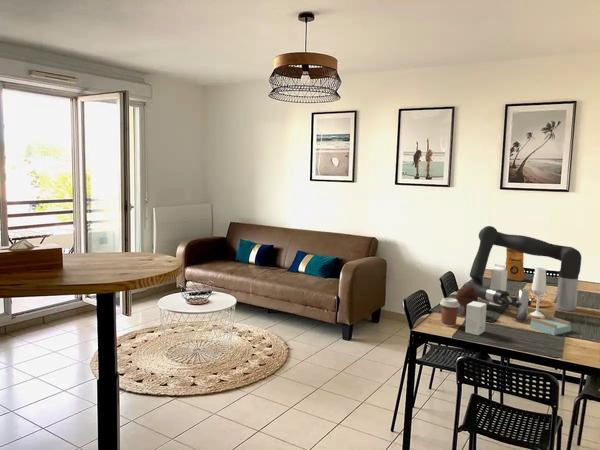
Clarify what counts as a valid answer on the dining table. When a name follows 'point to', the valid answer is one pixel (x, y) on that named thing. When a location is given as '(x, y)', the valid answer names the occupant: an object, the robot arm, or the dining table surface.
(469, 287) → the ice cream bowl
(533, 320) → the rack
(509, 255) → the coffee package
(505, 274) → the milk
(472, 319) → the small box
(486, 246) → the robot arm
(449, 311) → the coffee cup
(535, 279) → the champagne flute
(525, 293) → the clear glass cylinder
